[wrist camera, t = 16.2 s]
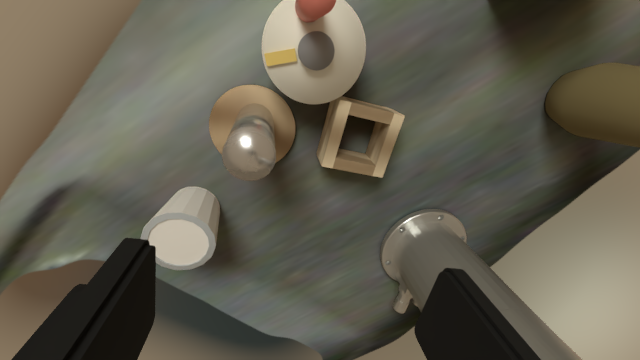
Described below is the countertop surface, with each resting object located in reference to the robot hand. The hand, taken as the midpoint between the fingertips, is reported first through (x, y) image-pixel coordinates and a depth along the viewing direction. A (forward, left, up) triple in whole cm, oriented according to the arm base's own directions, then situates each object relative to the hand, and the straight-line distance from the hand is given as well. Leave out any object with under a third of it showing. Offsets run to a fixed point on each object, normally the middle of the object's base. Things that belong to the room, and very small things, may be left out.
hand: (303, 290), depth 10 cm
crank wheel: (+7, -1, -22) cm, 23 cm away
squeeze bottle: (+10, -33, -25) cm, 43 cm away
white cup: (-13, +8, -25) cm, 29 cm away
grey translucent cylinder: (-1, +3, -24) cm, 24 cm away
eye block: (0, -8, -25) cm, 26 cm away
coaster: (-2, +3, -25) cm, 25 cm away
